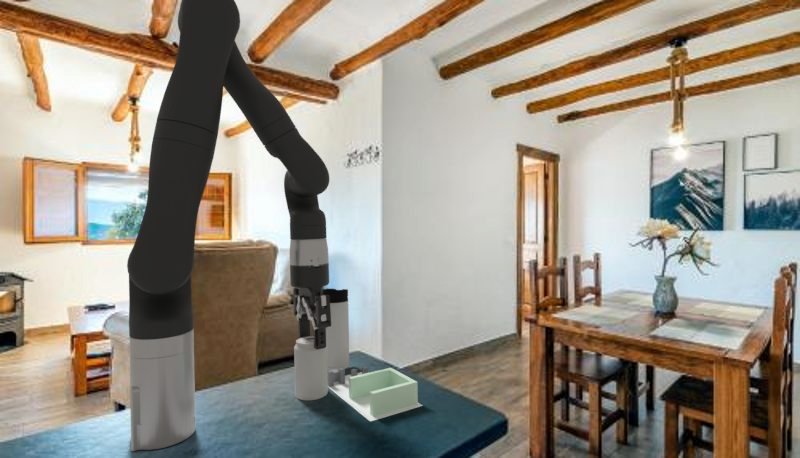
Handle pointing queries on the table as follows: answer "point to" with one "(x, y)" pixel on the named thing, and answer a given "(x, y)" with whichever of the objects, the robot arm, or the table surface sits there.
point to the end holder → (384, 390)
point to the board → (362, 404)
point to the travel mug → (338, 330)
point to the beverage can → (310, 370)
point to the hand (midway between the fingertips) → (312, 343)
